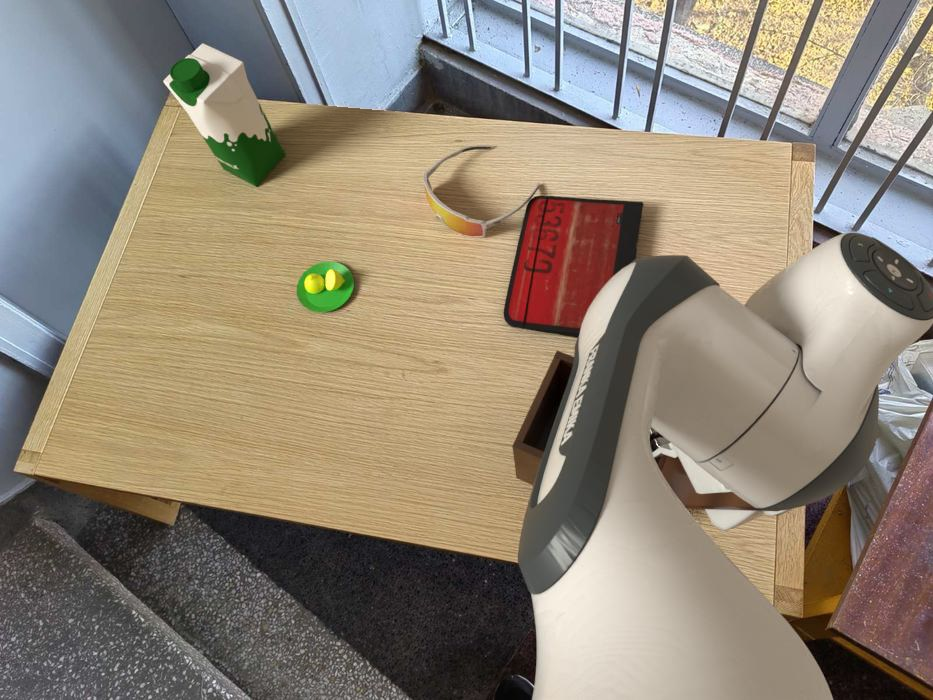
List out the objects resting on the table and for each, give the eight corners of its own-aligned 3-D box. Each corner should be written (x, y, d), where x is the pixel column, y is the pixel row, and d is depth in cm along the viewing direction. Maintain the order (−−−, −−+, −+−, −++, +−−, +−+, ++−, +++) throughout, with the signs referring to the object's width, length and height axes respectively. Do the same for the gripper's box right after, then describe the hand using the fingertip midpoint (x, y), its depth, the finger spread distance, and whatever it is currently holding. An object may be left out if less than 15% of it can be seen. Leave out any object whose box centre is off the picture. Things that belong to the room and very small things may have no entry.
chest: (516, 477, 81) (512, 446, 69) (554, 394, 85) (556, 350, 73) (634, 530, 77) (651, 506, 65) (668, 440, 81) (691, 402, 69)
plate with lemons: (346, 256, 96) (341, 245, 94) (361, 303, 93) (356, 292, 90) (292, 274, 96) (286, 264, 93) (305, 322, 92) (298, 312, 90)
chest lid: (771, 506, 50) (779, 511, 50) (813, 373, 54) (820, 378, 54) (649, 504, 65) (655, 508, 65) (688, 398, 68) (695, 402, 69)
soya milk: (215, 171, 105) (148, 69, 87) (253, 131, 108) (195, 24, 90) (257, 194, 102) (196, 94, 84) (294, 152, 105) (244, 46, 87)
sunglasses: (406, 199, 99) (404, 174, 95) (482, 150, 104) (483, 124, 100) (472, 257, 94) (472, 234, 90) (548, 202, 99) (552, 178, 95)
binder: (644, 200, 92) (626, 339, 84) (642, 210, 94) (624, 346, 86) (527, 190, 96) (499, 322, 88) (528, 200, 98) (501, 330, 90)
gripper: (835, 492, 52) (728, 534, 64) (706, 271, 59) (632, 345, 71) (775, 517, 49) (676, 555, 61) (649, 283, 57) (582, 357, 69)
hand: (651, 441), depth 66 cm, fingers closed
